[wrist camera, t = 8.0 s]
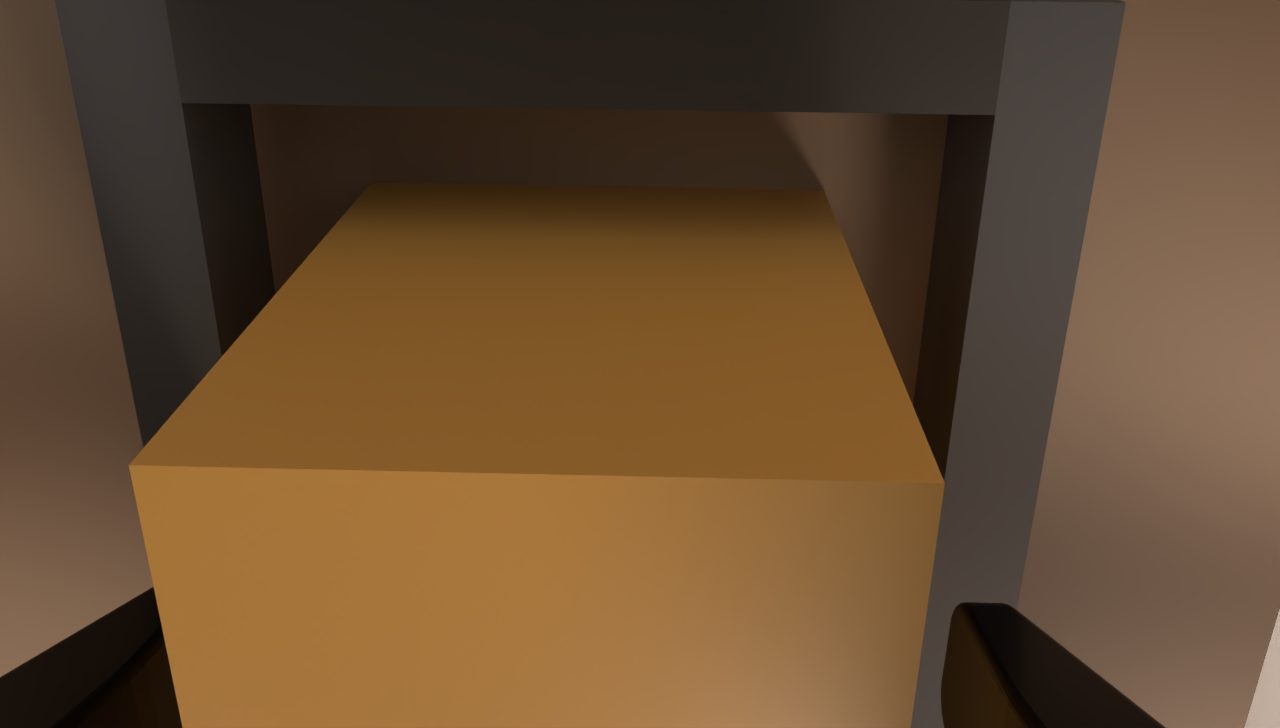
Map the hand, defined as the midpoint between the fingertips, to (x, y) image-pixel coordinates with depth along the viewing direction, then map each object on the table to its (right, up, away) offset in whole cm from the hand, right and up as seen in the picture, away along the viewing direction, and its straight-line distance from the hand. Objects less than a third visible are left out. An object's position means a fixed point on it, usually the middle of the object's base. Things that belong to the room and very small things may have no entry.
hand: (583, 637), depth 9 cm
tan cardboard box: (0, +1, +2) cm, 2 cm away
